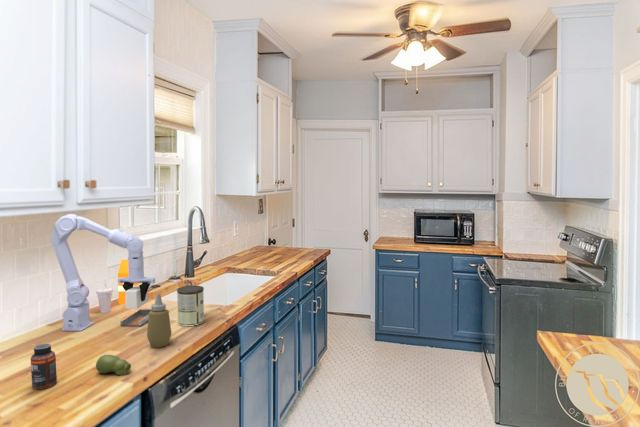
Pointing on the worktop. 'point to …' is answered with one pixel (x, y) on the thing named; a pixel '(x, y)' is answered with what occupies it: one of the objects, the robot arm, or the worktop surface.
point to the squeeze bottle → (158, 324)
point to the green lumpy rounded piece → (112, 365)
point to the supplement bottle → (43, 367)
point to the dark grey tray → (136, 318)
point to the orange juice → (121, 274)
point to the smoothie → (104, 299)
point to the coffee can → (190, 305)
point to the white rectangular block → (134, 298)
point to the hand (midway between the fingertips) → (137, 300)
